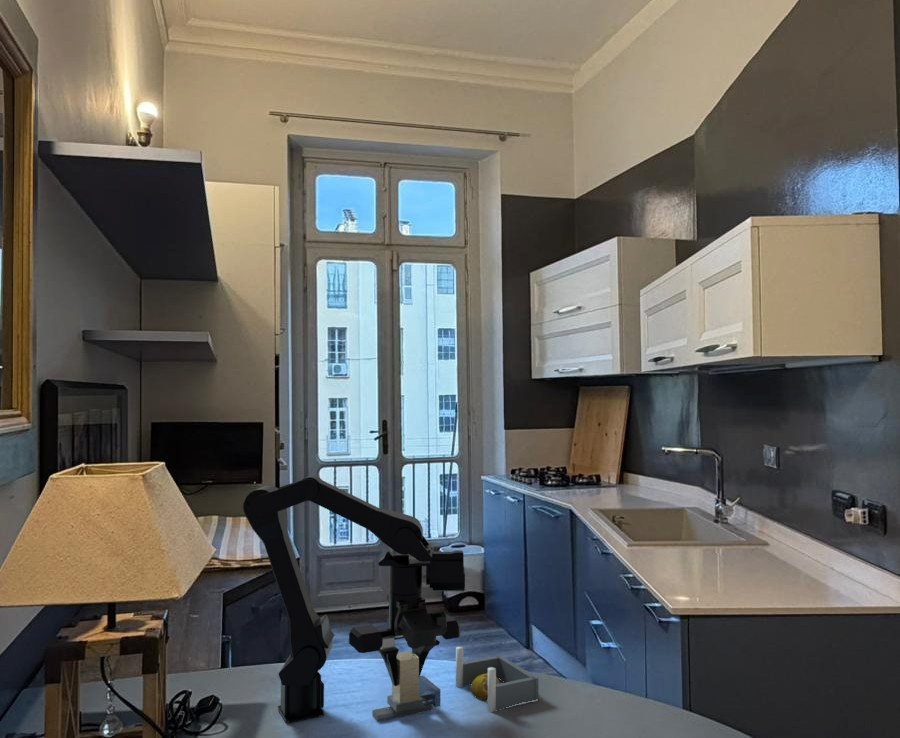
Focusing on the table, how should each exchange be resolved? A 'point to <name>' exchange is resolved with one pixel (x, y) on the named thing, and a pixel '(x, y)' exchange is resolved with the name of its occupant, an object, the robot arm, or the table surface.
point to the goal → (516, 679)
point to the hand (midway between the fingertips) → (405, 683)
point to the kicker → (411, 685)
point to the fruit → (481, 686)
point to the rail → (391, 713)
